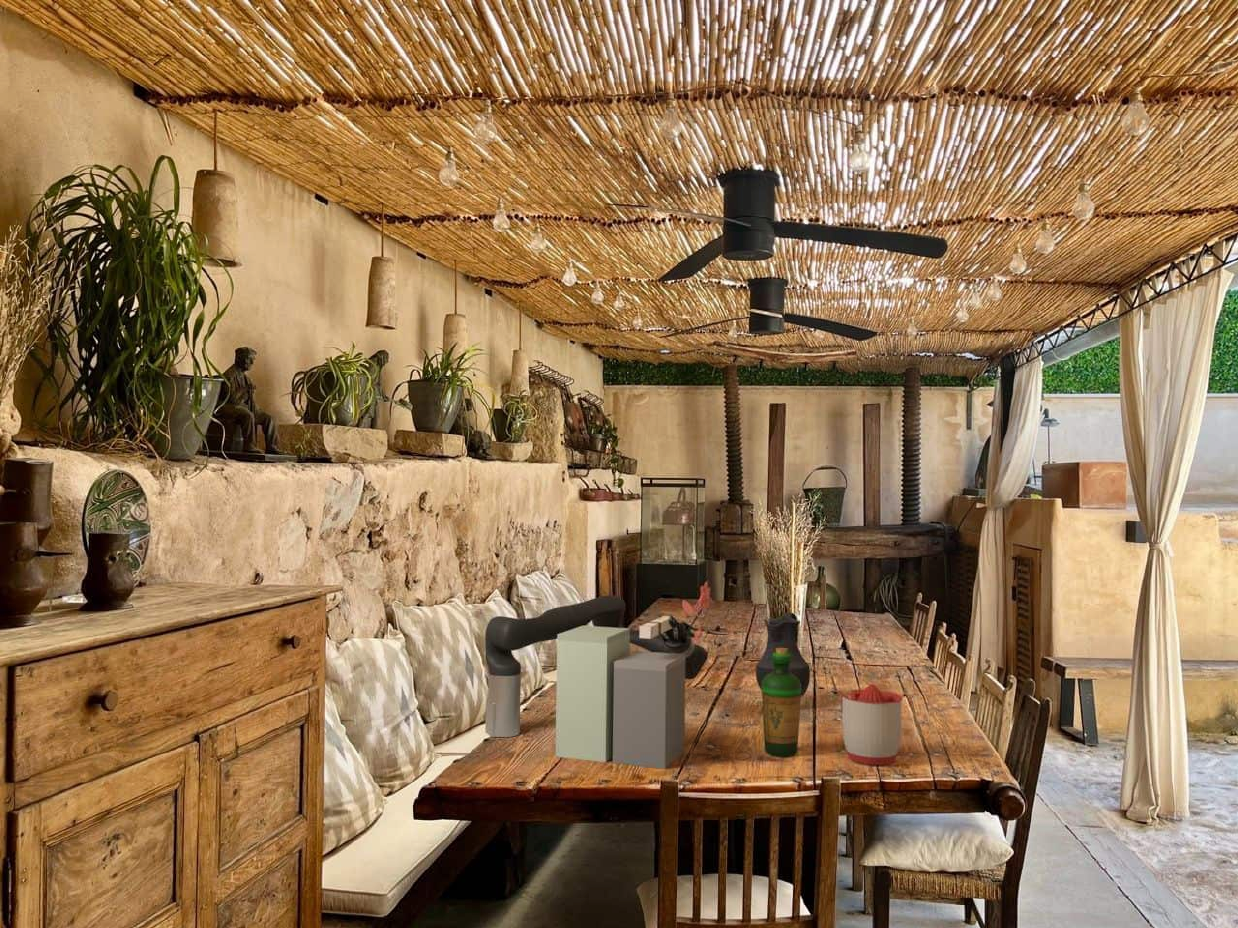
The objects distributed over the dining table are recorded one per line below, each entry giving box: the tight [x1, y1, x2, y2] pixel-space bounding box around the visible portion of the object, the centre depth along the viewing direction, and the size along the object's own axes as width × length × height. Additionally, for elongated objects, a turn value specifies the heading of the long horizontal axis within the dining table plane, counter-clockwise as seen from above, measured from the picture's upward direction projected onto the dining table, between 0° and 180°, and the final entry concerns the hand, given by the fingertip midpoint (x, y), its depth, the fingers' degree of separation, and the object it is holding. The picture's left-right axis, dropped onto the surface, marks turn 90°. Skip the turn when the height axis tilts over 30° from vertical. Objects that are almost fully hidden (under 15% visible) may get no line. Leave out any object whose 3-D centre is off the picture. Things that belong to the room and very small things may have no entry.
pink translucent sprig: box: [681, 581, 725, 677], centre depth 375 cm, size 15×26×35 cm, turn 158°
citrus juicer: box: [836, 683, 903, 766], centre depth 257 cm, size 16×17×20 cm
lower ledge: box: [612, 650, 686, 770], centre depth 257 cm, size 18×14×26 cm
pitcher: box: [755, 611, 811, 698], centre depth 319 cm, size 17×21×30 cm
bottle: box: [761, 648, 802, 758], centre depth 262 cm, size 11×11×28 cm
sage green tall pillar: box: [555, 625, 631, 763], centre depth 262 cm, size 18×14×32 cm
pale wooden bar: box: [639, 615, 676, 639], centre depth 263 cm, size 22×3×3 cm, turn 160°
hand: (664, 618), depth 269 cm, fingers closed on pale wooden bar, 3 cm apart
